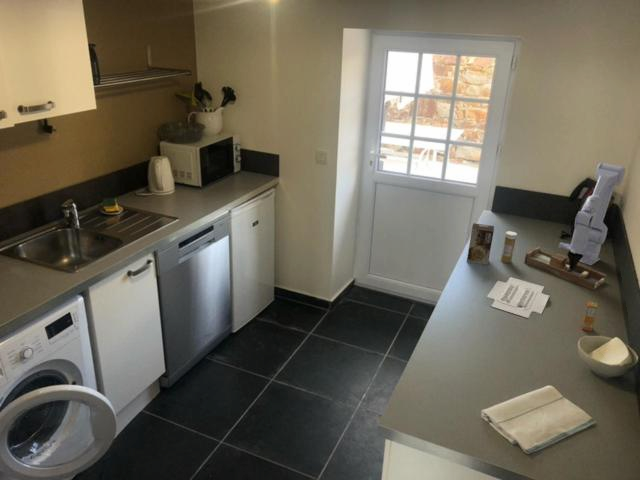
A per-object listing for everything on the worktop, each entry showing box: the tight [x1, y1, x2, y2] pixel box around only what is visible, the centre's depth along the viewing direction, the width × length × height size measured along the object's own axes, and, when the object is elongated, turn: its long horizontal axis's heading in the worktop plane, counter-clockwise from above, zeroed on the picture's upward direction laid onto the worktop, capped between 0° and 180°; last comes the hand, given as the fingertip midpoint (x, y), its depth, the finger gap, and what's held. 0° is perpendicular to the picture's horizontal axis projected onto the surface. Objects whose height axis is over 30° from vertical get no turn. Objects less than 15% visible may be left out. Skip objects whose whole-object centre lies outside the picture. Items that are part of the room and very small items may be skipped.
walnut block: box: [549, 252, 569, 269], centre depth 227 cm, size 5×5×4 cm
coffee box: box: [466, 223, 495, 266], centre depth 231 cm, size 9×6×16 cm
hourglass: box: [581, 301, 598, 332], centre depth 186 cm, size 3×3×10 cm
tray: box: [486, 276, 551, 319], centre depth 206 cm, size 20×28×4 cm
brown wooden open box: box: [523, 246, 607, 291], centre depth 226 cm, size 11×30×4 cm, turn 42°
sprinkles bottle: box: [500, 230, 518, 264], centre depth 232 cm, size 5×5×14 cm
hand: (572, 268), depth 224 cm, fingers closed
